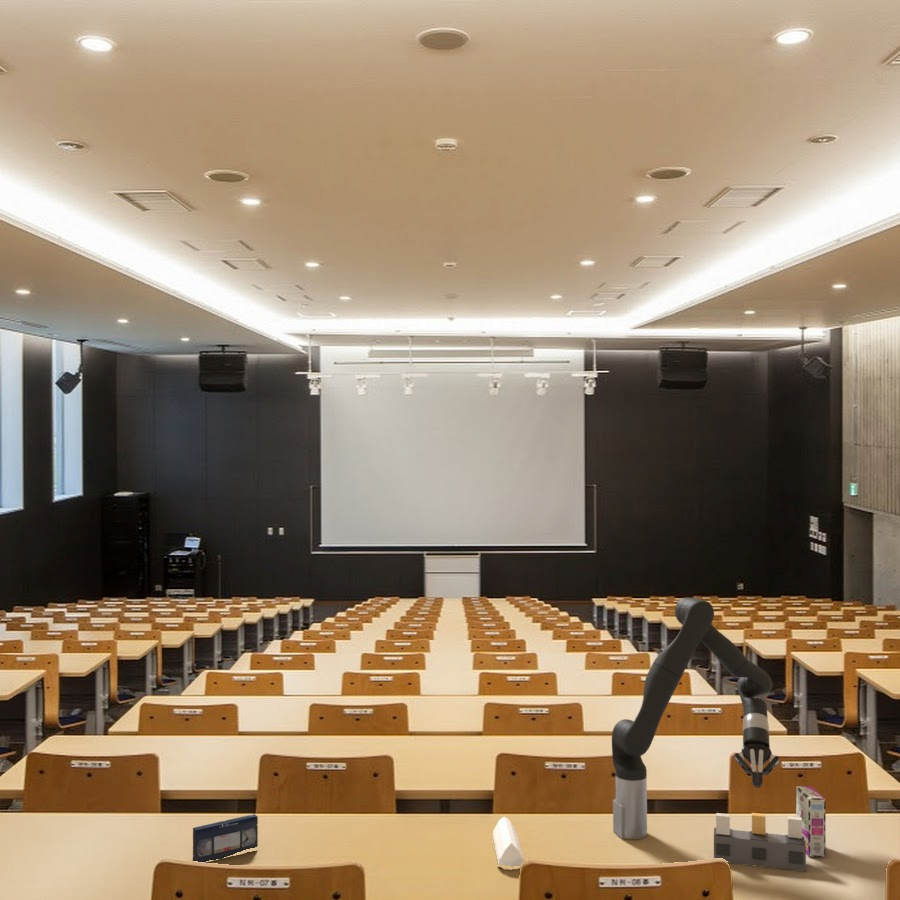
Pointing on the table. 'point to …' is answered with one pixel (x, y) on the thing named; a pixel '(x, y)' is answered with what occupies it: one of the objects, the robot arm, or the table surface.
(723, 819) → the switch left
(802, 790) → the candy bar box
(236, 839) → the vhs cassette tape
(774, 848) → the power strip
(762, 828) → the switch middle
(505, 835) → the crystal
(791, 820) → the switch right
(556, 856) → the table surface
